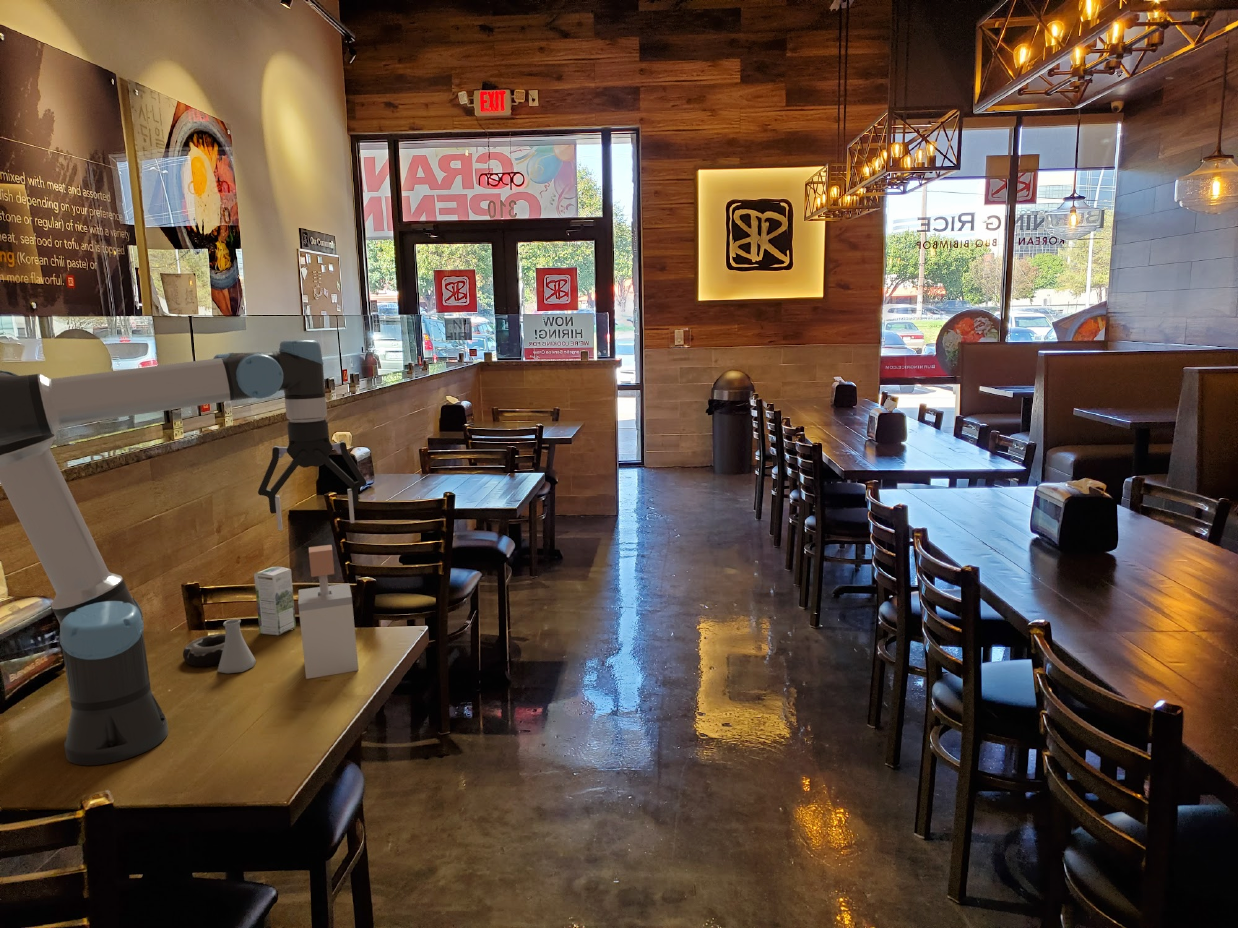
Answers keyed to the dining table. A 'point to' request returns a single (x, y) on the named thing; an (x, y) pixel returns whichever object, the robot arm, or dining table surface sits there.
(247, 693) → the dining table surface
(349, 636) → the slotted white box
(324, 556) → the pump plunger
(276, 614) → the syrup box
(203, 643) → the donut
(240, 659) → the flask
